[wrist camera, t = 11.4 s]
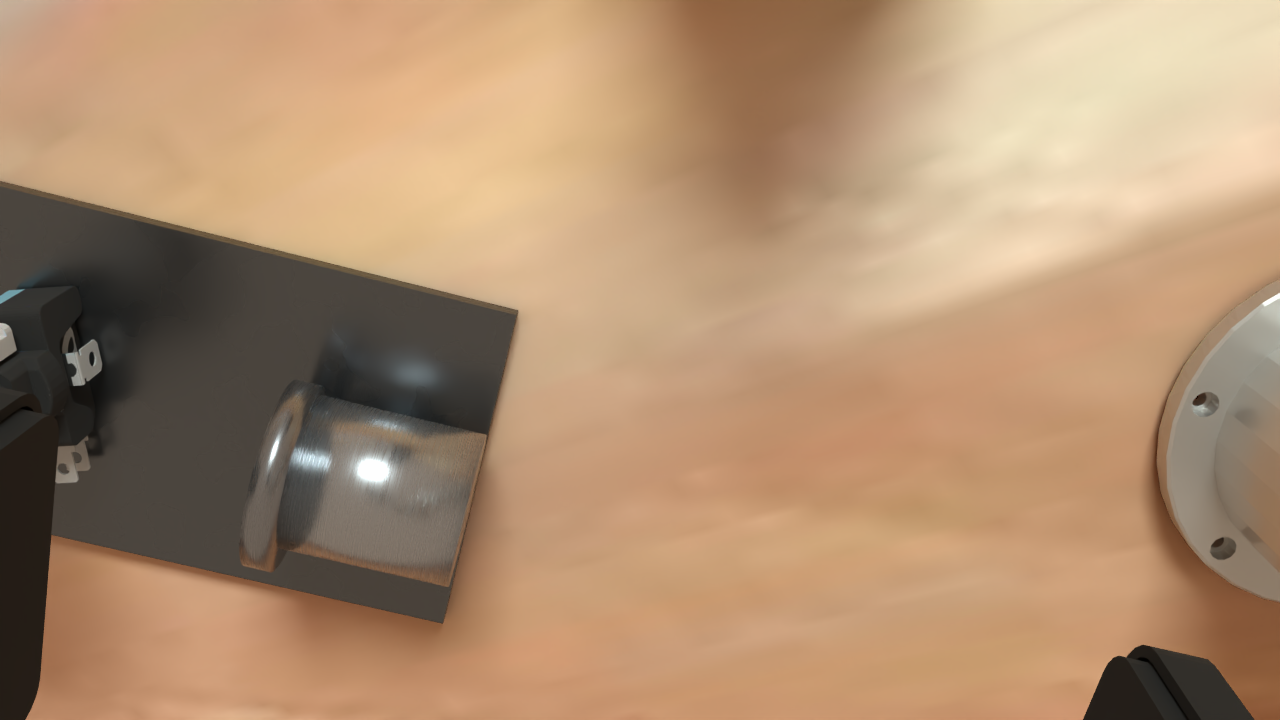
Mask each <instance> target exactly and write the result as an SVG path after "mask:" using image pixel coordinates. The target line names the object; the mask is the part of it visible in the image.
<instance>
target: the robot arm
mask: <svg viewBox="0 0 1280 720" xmlns="http://www.w3.org/2000/svg"><path fill="white" fill-rule="evenodd" d="M1198 395H1200V396H1199V398H1198V399H1196V400H1194V399H1195V398H1196V397H1197V396H1198ZM1193 400H1194V401H1193ZM58 442H59V427H58V423H57V420H56V419H55V418H54V416H50V415H45V414H42V409H41V405H40V401H39V400H38V398H37V397H36V396H35V395H33V394H29V393H24V392H20V391H15V390H11V389H6V388H2V387H0V720H25V719H26V717H27V716H28V714H29V712H30V710H31V708H32V705H33V703H34V700H35V698H36V694H37V691H38V687H39V681H40V671H41V659H42V646H43V633H44V620H45V608H46V595H47V582H48V569H49V557H50V544H51V531H52V519H53V506H54V493H55V480H56V468H57V455H58ZM1156 462H1157V469H1158V477H1159V484H1160V491H1161V494H1162V497H1163V500H1164V502H1165V505H1166V508H1167V510H1168V513H1169V515H1170V518H1171V521H1172V522H1173V523H1174V525H1175V526H1176V528H1177V529H1178V531H1179V532H1180V534H1181V535H1182V537H1183V538H1184V540H1185V541H1186V543H1187V544H1188V545H1189V547H1190V548H1191V549H1192V550H1193V551H1194V552H1195V553H1196V555H1197V556H1198V557H1199V558H1200V559H1201V560H1202V561H1203V562H1204V563H1205V564H1206V565H1207V566H1208V567H1209V568H1210V569H1212V570H1213V571H1214V572H1216V573H1217V574H1218V575H1220V576H1221V577H1222V578H1224V579H1225V580H1226V581H1228V582H1229V583H1230V584H1232V585H1233V586H1236V587H1238V588H1240V589H1242V590H1244V591H1246V592H1249V593H1251V594H1253V595H1255V596H1257V597H1260V598H1262V599H1266V600H1270V601H1275V602H1279V603H1280V279H1279V280H1277V281H1275V282H1273V283H1270V284H1268V285H1266V286H1265V287H1264V288H1262V289H1261V290H1259V291H1258V292H1256V293H1255V294H1254V295H1252V296H1251V297H1249V298H1248V299H1246V300H1245V301H1243V302H1242V303H1241V304H1239V305H1238V306H1236V307H1235V308H1234V309H1233V310H1232V311H1231V312H1230V313H1229V314H1227V315H1226V316H1225V317H1224V318H1223V319H1222V320H1221V321H1220V322H1219V323H1218V324H1217V325H1216V326H1215V327H1214V328H1213V329H1212V330H1211V331H1210V332H1209V333H1208V334H1207V335H1206V336H1205V337H1204V339H1203V340H1202V342H1201V343H1200V344H1199V346H1198V347H1197V348H1196V350H1195V351H1194V352H1193V354H1192V355H1191V356H1190V358H1189V359H1188V360H1187V362H1186V363H1185V364H1184V366H1183V368H1182V370H1181V372H1180V374H1179V376H1178V378H1177V380H1176V382H1175V384H1174V386H1173V388H1172V390H1171V392H1170V394H1169V396H1168V399H1167V403H1166V406H1165V410H1164V413H1163V417H1162V420H1161V424H1160V428H1159V435H1158V448H1157V461H1156ZM1083 720H1254V718H1253V717H1252V716H1251V714H1250V713H1249V712H1248V710H1247V709H1246V708H1245V706H1244V705H1243V703H1242V702H1241V701H1240V699H1239V698H1238V697H1237V695H1236V694H1235V693H1234V691H1233V690H1232V688H1231V687H1230V686H1229V684H1228V683H1227V682H1226V680H1225V679H1224V678H1223V676H1222V675H1221V673H1220V672H1219V671H1218V669H1217V668H1216V667H1215V666H1214V665H1213V664H1212V663H1211V662H1210V661H1209V660H1208V659H1204V658H1199V657H1195V656H1190V655H1186V654H1182V653H1177V652H1173V651H1168V650H1164V649H1159V648H1155V647H1151V646H1146V645H1141V646H1138V647H1136V648H1135V649H1134V650H1133V651H1132V652H1131V653H1130V654H1129V655H1128V656H1127V658H1126V657H1122V656H1117V657H1115V658H1113V659H1112V660H1111V661H1110V662H1109V663H1108V665H1107V666H1106V668H1105V670H1104V672H1103V674H1102V677H1101V679H1100V681H1099V684H1098V686H1097V688H1096V691H1095V693H1094V695H1093V698H1092V700H1091V702H1090V705H1089V707H1088V709H1087V712H1086V714H1085V716H1084V719H1083Z"/></svg>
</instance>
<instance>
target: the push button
mask: <svg viewBox="0 0 1280 720" xmlns="http://www.w3.org/2000/svg"><path fill="white" fill-rule="evenodd" d="M81 312H82V303H81V299H80V294H79V291H78V289H77V288H76V287H75V286H62V287H47V288H32V289H22V290H9V291H7V292H5V293H4V294H3V295H1V296H0V387H2V388H6V389H11V390H15V391H20V392H24V393H29V394H33V395H35V396H36V397H37V398H38V400H39V401H40V405H41V409H42V414H45V415H50V416H54V418H55V419H56V420H57V423H58V427H59V442H58V455H57V468H56V480H55V482H56V483H72V482H77V481H78V480H79V477H78V473H77V471H88V470H89V469H90V468H91V465H90V461H89V457H88V453H87V449H86V445H85V441H88V440H89V439H88V435H89V434H90V433H91V432H92V430H93V428H94V419H95V417H96V408H95V404H94V400H93V396H92V391H91V387H90V383H89V380H90V379H92V378H93V377H94V376H95V375H97V374H98V373H99V372H100V371H101V369H102V361H101V357H100V352H99V348H98V344H97V342H96V341H95V340H91V341H89V342H88V343H87V344H85V345H84V346H83V347H81V346H80V342H79V337H78V333H77V329H76V325H75V321H76V320H77V318H78V317H79V316H80V315H81ZM90 352H92V353H93V356H94V364H93V366H91V364H90V362H89V354H90ZM72 452H77V453H79V454H80V455H81V457H82V460H81V461H80V462H75V461H74V457H73V453H72ZM62 463H64V464H66V467H67V470H68V471H70V472H69V473H68V474H64V473H61V472H60V471H59V469H58V465H59V464H62Z"/></svg>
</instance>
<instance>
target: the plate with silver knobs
mask: <svg viewBox="0 0 1280 720" xmlns="http://www.w3.org/2000/svg"><path fill="white" fill-rule="evenodd" d="M62 286H75V287H76V288H77V289H78V291H79V294H80V299H81V303H82V312H81V315H80V316H79V317H78V318H77V320H76V321H75V325H76V329H77V333H78V337H79V342H80V346H81V347H83V346H84V345H85V344H87V343H88V342H89V341H91V340H95V341H96V342H97V344H98V348H99V352H100V357H101V361H102V369H101V371H100V372H99V373H98V374H97V375H95V376H94V377H93V378H92V379H90V380H89V383H90V387H91V391H92V396H93V400H94V404H95V408H96V417H95V419H94V428H93V430H92V432H91V433H90V434H89V435H88V439H89V440H88V441H85V445H86V449H87V453H88V457H89V461H90V465H91V468H90V469H89V470H88V471H77V473H78V477H79V480H78V481H77V482H72V483H56V482H55V493H54V506H53V519H52V531H51V535H55V536H59V537H63V538H68V539H72V540H77V541H81V542H86V543H90V544H94V545H99V546H103V547H108V548H112V549H116V550H121V551H125V552H130V553H134V554H138V555H143V556H147V557H152V558H156V559H161V560H165V561H169V562H174V563H178V564H183V565H187V566H191V567H196V568H200V569H205V570H209V571H213V572H218V573H222V574H227V575H231V576H235V577H240V578H244V579H249V580H253V581H258V582H262V583H266V584H271V585H275V586H280V587H284V588H288V589H293V590H297V591H302V592H306V593H310V594H315V595H319V596H324V597H328V598H332V599H337V600H341V601H346V602H350V603H355V604H359V605H363V606H368V607H372V608H377V609H381V610H385V611H390V612H394V613H399V614H403V615H407V616H412V617H416V618H421V619H425V620H429V621H434V622H438V623H443V621H444V618H445V614H446V610H447V606H448V601H449V597H450V593H451V589H452V585H453V580H454V576H455V572H456V568H457V564H458V560H459V555H460V551H461V547H462V543H463V539H464V534H465V530H466V526H467V522H468V518H469V514H470V509H471V505H472V501H473V497H474V493H475V488H476V484H477V480H478V476H479V472H480V468H481V463H482V459H483V455H484V451H485V447H486V442H487V438H488V434H489V430H490V426H491V422H492V417H493V413H494V409H495V405H496V401H497V396H498V392H499V388H500V384H501V380H502V375H503V371H504V367H505V363H506V359H507V355H508V350H509V346H510V342H511V338H512V334H513V329H514V325H515V321H516V317H517V313H518V310H514V309H510V308H506V307H502V306H498V305H494V304H490V303H486V302H482V301H478V300H474V299H470V298H466V297H462V296H458V295H454V294H450V293H446V292H442V291H438V290H434V289H430V288H426V287H422V286H418V285H414V284H410V283H406V282H402V281H398V280H394V279H390V278H386V277H382V276H378V275H374V274H370V273H366V272H362V271H358V270H354V269H350V268H346V267H342V266H338V265H334V264H330V263H326V262H322V261H318V260H314V259H310V258H306V257H302V256H298V255H294V254H290V253H286V252H282V251H278V250H274V249H270V248H266V247H262V246H258V245H254V244H250V243H246V242H242V241H238V240H234V239H230V238H226V237H222V236H218V235H214V234H210V233H206V232H202V231H198V230H194V229H190V228H186V227H182V226H178V225H174V224H170V223H166V222H162V221H158V220H154V219H150V218H146V217H142V216H138V215H134V214H130V213H126V212H122V211H118V210H114V209H110V208H106V207H102V206H98V205H94V204H90V203H86V202H82V201H78V200H74V199H70V198H66V197H62V196H58V195H54V194H50V193H46V192H42V191H38V190H34V189H30V188H26V187H22V186H18V185H14V184H10V183H6V182H2V181H0V296H1V295H3V294H4V293H5V292H7V291H9V290H22V289H32V288H47V287H62ZM89 362H90V364H91V366H93V364H94V356H93V353H92V352H90V354H89ZM72 453H73V457H74V461H75V462H80V461H81V460H82V457H81V455H80V454H79V453H77V452H72ZM58 469H59V471H60V472H61V473H64V474H68V473H69V472H70V471H68V470H67V467H66V464H64V463H62V464H59V465H58Z"/></svg>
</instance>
